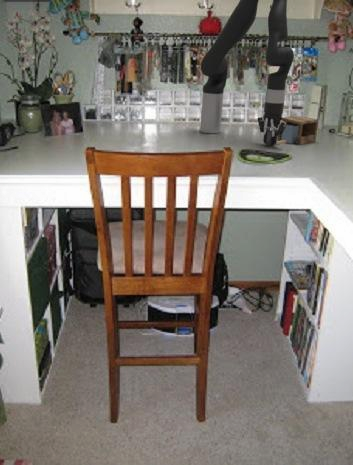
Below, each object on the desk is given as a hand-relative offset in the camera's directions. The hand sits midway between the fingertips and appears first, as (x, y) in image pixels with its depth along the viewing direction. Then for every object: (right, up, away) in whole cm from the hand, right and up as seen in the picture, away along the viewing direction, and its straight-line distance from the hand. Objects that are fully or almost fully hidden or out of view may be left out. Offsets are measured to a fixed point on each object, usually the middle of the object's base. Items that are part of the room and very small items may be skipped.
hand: (269, 144), depth 192 cm
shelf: (+13, +3, +11) cm, 17 cm away
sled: (+5, +1, +5) cm, 7 cm away
